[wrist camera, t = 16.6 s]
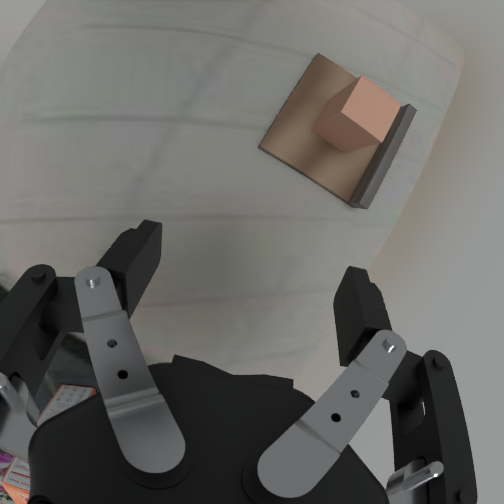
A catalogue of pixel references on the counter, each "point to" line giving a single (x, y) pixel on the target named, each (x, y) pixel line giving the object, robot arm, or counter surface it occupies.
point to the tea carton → (357, 116)
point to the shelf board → (322, 152)
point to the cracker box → (64, 398)
